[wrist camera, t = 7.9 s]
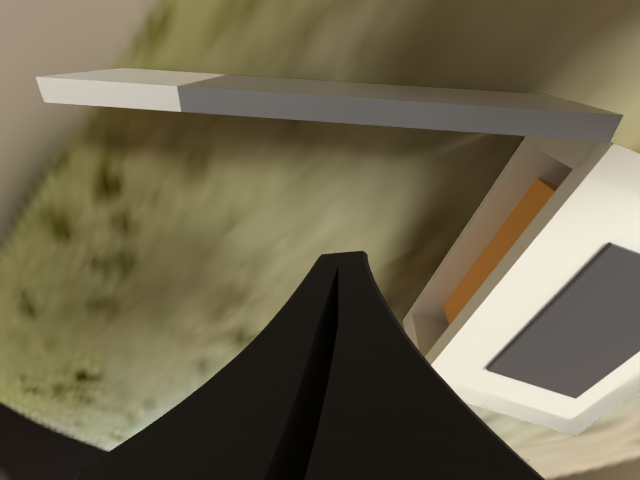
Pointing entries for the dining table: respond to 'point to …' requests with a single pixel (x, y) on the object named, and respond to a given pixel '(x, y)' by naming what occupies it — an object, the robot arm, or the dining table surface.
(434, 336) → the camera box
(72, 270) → the dining table surface
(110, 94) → the side door
